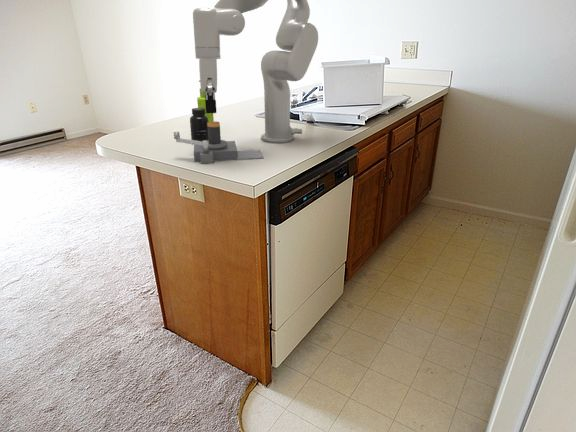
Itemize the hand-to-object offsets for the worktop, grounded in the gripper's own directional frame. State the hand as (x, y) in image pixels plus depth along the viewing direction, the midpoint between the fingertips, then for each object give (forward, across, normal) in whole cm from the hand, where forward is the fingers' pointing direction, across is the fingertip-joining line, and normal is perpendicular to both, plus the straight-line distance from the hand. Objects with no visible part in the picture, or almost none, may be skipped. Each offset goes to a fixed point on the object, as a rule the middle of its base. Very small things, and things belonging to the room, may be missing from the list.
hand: (211, 110), depth 134 cm
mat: (+15, +1, +12) cm, 19 cm away
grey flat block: (+15, +1, +1) cm, 15 cm away
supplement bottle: (+15, -20, -4) cm, 25 cm away
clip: (+12, +3, -7) cm, 14 cm away
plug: (+15, -1, +1) cm, 15 cm away
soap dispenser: (+15, -36, -1) cm, 39 cm away
